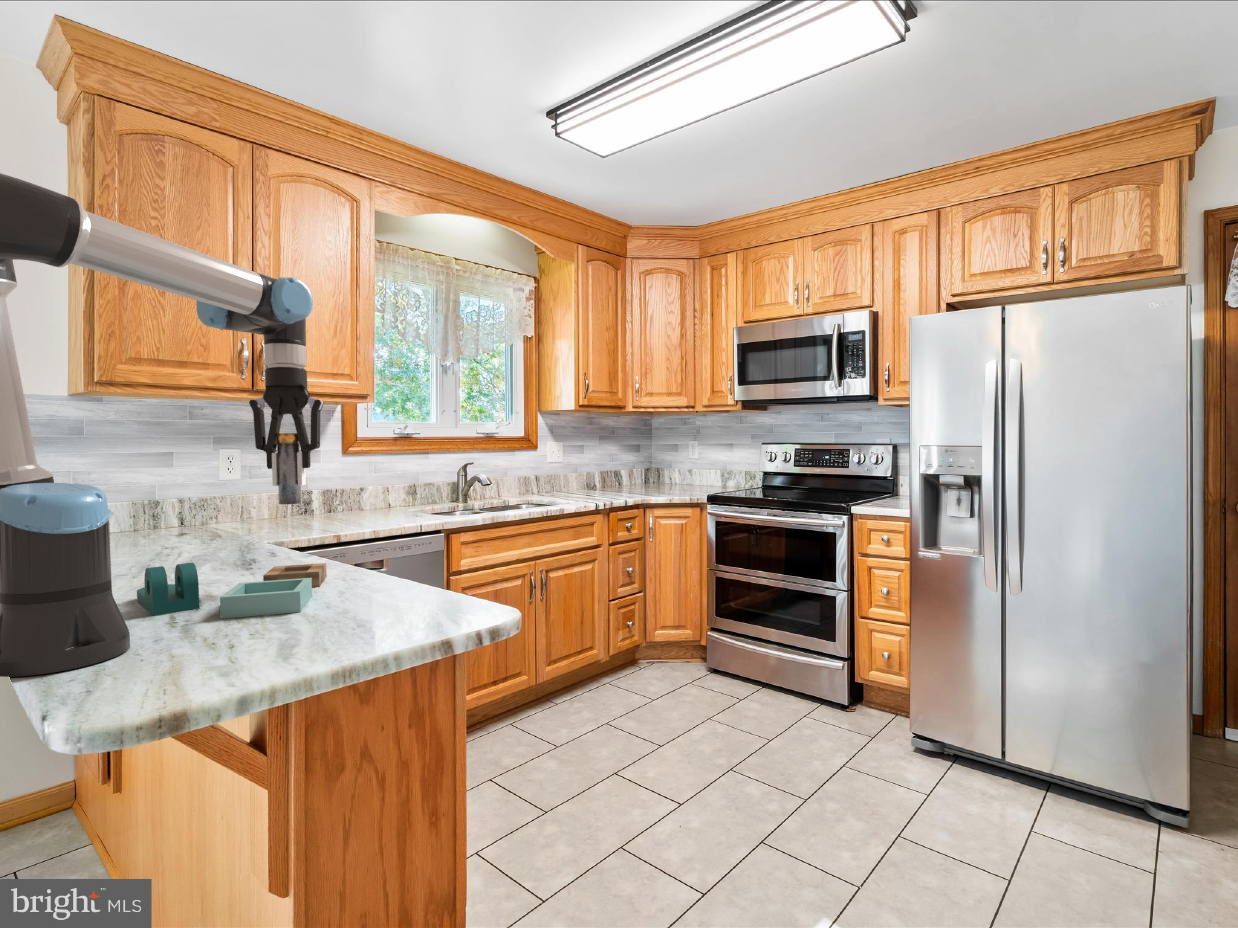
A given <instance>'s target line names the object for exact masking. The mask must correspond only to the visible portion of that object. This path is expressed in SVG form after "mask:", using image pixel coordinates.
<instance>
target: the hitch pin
mask: <svg viewBox="0 0 1238 928" xmlns="http://www.w3.org/2000/svg"><path fill="white" fill-rule="evenodd" d="M276 450H277V452H276V453H277V455H278V486H277V487H278V488H277V489H278V504H279V505H297V504H302V489H301V487H302V485H298V469H297V453H301V451H300V450H301V448H300V444H299V440H298V435H297V432H296V433H293V432H290V433H289V432H287V433H285V432H283V433H280V432H279V433H277V448H276Z"/></svg>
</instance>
